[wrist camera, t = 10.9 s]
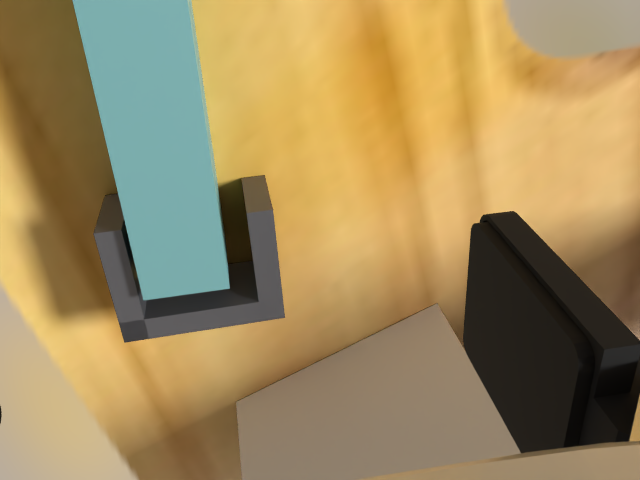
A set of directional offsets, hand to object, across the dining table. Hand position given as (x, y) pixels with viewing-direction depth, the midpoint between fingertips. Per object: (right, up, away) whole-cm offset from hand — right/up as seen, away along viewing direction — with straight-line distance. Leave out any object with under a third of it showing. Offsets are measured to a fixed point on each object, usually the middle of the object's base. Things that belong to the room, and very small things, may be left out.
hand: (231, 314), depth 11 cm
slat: (-6, +11, +16) cm, 20 cm away
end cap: (-5, +2, +21) cm, 21 cm away
